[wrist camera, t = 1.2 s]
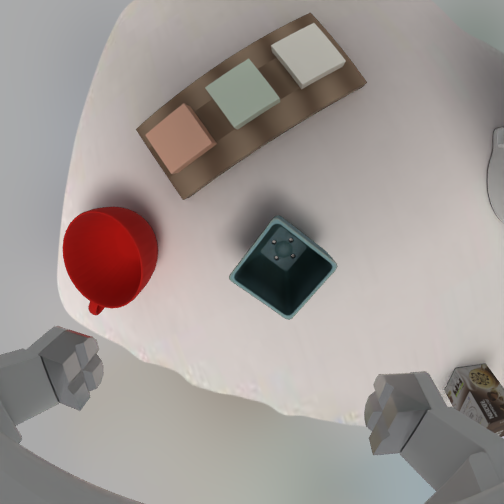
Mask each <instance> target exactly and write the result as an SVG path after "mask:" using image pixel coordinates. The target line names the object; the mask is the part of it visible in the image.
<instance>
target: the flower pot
mask: <svg viewBox="0 0 504 504" xmlns="http://www.w3.org/2000/svg"><path fill="white" fill-rule="evenodd" d="M290 238H292V239H293V241H292V242H290V241H289V239H290ZM273 240H275V241H276V243H275V244H273V243H272V241H273ZM292 254H294V255H295V257H294V258H292V257H291V255H292ZM275 256H278V259H277V260H276V259H275ZM336 268H337V263H336V262H335V261H334V260H333V259H332V257H331V256H330V255H329V254H328V253H327V252H326V251H325V250H324V249H323V248H321V247H320V246H319V245H317V244H316V243H315V242H314V241H312V240H311V239H310V238H308V237H307V236H306V235H304V234H303V233H302V232H301V231H299V230H298V229H297V228H295V227H294V226H293V225H291V224H290V223H289V222H288V221H286V220H285V219H284V218H282V217H281V216H275V217H274V218H273V219H272V221H271V222H270V223H269V225H268V226H267V227H266V229H265V230H264V231H263V233H262V234H261V235H260V236H259V238H258V239H257V240H256V242H255V243H254V244H253V245H252V247H251V248H250V249H249V251H248V252H247V253H246V255H245V256H244V257H243V258H242V260H241V261H240V262H239V263H238V265H237V266H236V267H235V269H234V270H233V271H232V273H231V274H230V276H229V279H230V280H231V281H232V282H233V283H234V284H236V285H237V286H239V287H240V288H242V289H243V290H245V291H246V292H248V293H249V294H251V295H252V296H254V297H255V298H257V299H258V300H259V301H261V302H262V303H264V304H265V305H267V306H268V307H270V308H271V309H272V310H274V311H275V312H277V313H278V314H279V315H281V316H282V317H283V318H285V319H288V320H290V319H292V318H293V317H294V316H295V315H296V314H297V312H298V311H299V310H300V309H301V308H302V307H303V306H304V305H305V303H306V302H307V301H308V300H309V299H310V298H311V297H312V296H313V295H314V293H315V292H316V291H317V290H318V289H319V288H320V287H321V286H322V285H323V283H324V282H325V281H326V280H327V279H328V278H329V277H330V276H331V275H332V274H333V273H334V272H335V270H336Z"/></svg>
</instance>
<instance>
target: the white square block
mask: <svg viewBox="0 0 504 504" xmlns="http://www.w3.org/2000/svg"><path fill="white" fill-rule="evenodd" d="M271 48H272V53H273V54H274V55H275V56H276V57H277V59H278V60H279V61H280V62H281V64H282V65H283V66H284V67H285V69H286V70H287V71H288V72H289V74H290V75H291V76H292V77H293V79H294V80H295V81H296V83H297V84H298V85H299V87H300V88H301V89H303V88H305V87H307V86H308V85H310V84H312V83H314V82H315V81H317V80H319V79H321V78H323V77H324V76H326V75H328V74H330V73H332V72H334V71H336V70H338V69H339V68H341V67H343V65H344V63H345V62H346V60H345V59H344V58H343V57H342V55H341V54H340V53H339V52H338V50H337V49H336V48H335V47H334V45H333V44H332V43H331V42H330V40H329V39H328V38H327V37H326V36H325V35H324V33H323V32H322V31H321V30H320V29H319V28H318V27H317V25H316V24H315V23H313V24H311V25H309V26H307V27H305V28H302V29H301V30H299V31H297V32H295V33H293V34H291V35H289V36H287V37H285V38H283V39H281V40H280V41H278V42H276V43H274V44H272V45H271Z"/></svg>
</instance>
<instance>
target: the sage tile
mask: <svg viewBox="0 0 504 504" xmlns="http://www.w3.org/2000/svg"><path fill="white" fill-rule="evenodd" d="M205 89H206V90H207V91H208V93H209V94H210V95H211V97H212V98H213V99H214V101H215V102H216V103H217V105H218V106H219V107H220V109H221V110H222V112H223V113H224V114H225V116H226V117H227V118H228V120H229V121H230V123H231V124H232V125H233V127H234V128H236V129H237V130H238V129H239V128H241V127H242V126H244V125H245V124H247V123H248V122H250V121H251V120H253V119H255V118H256V117H258V116H259V115H261V114H262V113H264V112H265V111H267V110H269V109H270V108H272V107H273V106H275V105H276V104H278V103H280V98H279V96H278V95H277V94H276V92H275V91H274V90H273V89H272V87H271V86H270V85H269V83H268V82H267V81H266V79H265V78H264V77H263V76H262V74H261V73H260V72H259V70H258V69H257V68H256V67H255V65H254V64H253V63H252V62H251V61H250V59H247V60H246V61H244V62H242V63H241V64H239V65H238V66H236V67H234V68H233V69H231V70H230V71H228V72H227V73H225V74H224V75H222V76H221V77H219V78H218V79H217V80H215V81H214V82H212V83H211V84H209V85H208V86H207V87H205Z"/></svg>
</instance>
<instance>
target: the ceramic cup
mask: <svg viewBox="0 0 504 504" xmlns="http://www.w3.org/2000/svg"><path fill="white" fill-rule="evenodd" d="M157 257H158V246H157V240H156V237H155V234H154V232H153V230H152V228H151V226H150V225H149V224H148V222H147V221H146V220H145V219H144V218H143V217H142V216H140V215H139V214H137V213H136V212H134V211H131V210H129V209H126V208H120V207H103V208H97V209H92V210H89V211H86V212H83V213H81V214H80V215H78V216H77V217H76V218H74V220H73V221H72V222H71V223H70V224H69V226H68V228H67V230H66V233H65V236H64V240H63V258H64V263H65V267H66V270H67V272H68V275H69V277H70V279H71V281H72V282H73V284H74V285H75V287H76V288H77V289H78V290H79V292H80V293H81V294H82V295H83V296H84V297H86V298H87V299H88V300H89V301H90V304H89V311H90V313H92V314H93V315H98V314H100V313H101V312H102V310H103V309H104V308H105V307H106V308H119V307H122V306H125V305H127V304H128V303H130V302H131V301H132V300H134V299H135V298H136V296H137V295H138V294H139V293H140V292H141V290H142V289H143V288H144V287H145V286H146V284H147V283H148V281H149V280H150V278H151V276H152V274H153V272H154V270H155V266H156V263H157Z"/></svg>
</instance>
